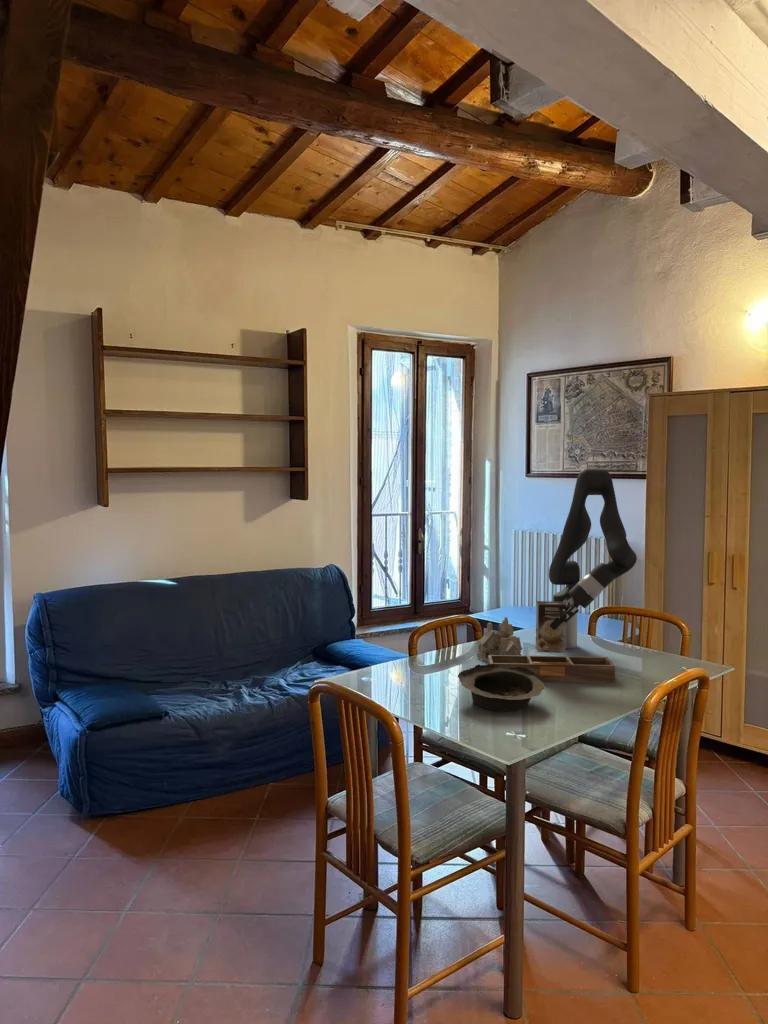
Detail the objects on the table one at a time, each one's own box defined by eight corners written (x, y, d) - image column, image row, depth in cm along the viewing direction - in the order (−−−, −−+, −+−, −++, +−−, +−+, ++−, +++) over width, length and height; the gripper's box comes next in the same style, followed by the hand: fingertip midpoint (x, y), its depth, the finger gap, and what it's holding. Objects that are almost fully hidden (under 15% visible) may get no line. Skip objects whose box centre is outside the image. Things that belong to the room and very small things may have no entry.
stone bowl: (486, 685, 232) (488, 657, 231) (557, 707, 216) (560, 677, 215) (442, 703, 213) (444, 673, 212) (517, 729, 197) (519, 696, 196)
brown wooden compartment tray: (487, 670, 249) (488, 653, 248) (607, 673, 246) (607, 655, 245) (490, 680, 237) (490, 662, 237) (615, 683, 234) (615, 664, 234)
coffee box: (537, 652, 238) (537, 604, 238) (535, 648, 245) (535, 600, 244) (566, 653, 238) (566, 604, 237) (563, 648, 244) (563, 601, 243)
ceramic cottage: (475, 653, 272) (477, 614, 270) (519, 655, 271) (521, 616, 269) (477, 667, 257) (480, 625, 255) (524, 669, 256) (527, 628, 254)
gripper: (574, 579, 246) (539, 613, 248) (582, 586, 232) (544, 622, 234) (590, 594, 246) (554, 629, 248) (599, 602, 232) (561, 638, 234)
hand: (550, 625), depth 241 cm, fingers closed on coffee box, 6 cm apart
